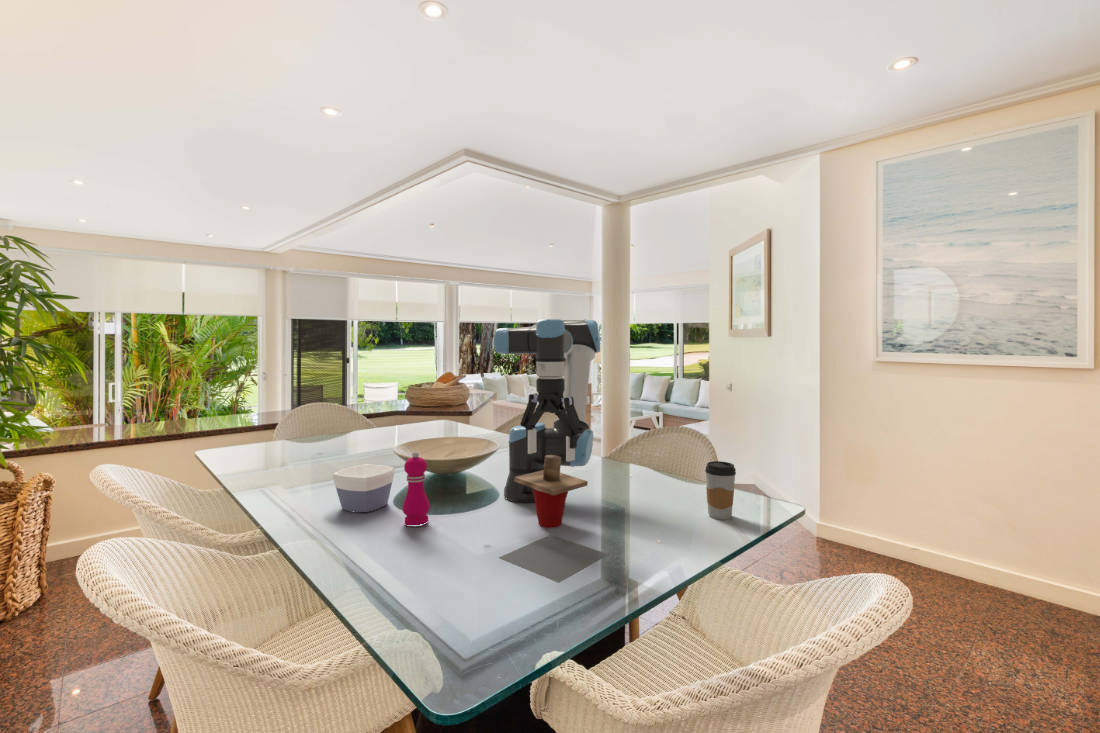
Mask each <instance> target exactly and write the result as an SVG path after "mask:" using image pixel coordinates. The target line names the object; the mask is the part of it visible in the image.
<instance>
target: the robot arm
mask: <svg viewBox="0 0 1100 733" xmlns="http://www.w3.org/2000/svg"><path fill="white" fill-rule="evenodd" d="M536 321H537V322H536V324H535V323H534V324H533V325H532V326H526V327H525V326H524V327H522V326H521V327H502V328H497V329H496V330H495V332H494V336H493V346H494V350H495V352H496V353H497V354H502V355H535V356H536V377H538V378H536V382H535V384H536V392H537V393H531V394H529V395H528V403H527V405H526V408H525V410H524V412H523V415H522V418H521V420H520V425H515V426H514V427H511V428H510V430H509V433H508V434H509V436H508V439H509V440H508V456H509V457H508V459H509V460H508V463H509V465H508V466H509V469H508V470H509V471H508V476H507V480H506V483H505V486H504V487H503V488H504V489H503V496H505V497H504V498H505V499H506V498H507V499H506V500H508V499H509V501H511V500H512V502H515V501H516V503H535V499H534V493H533V489H532V488H531V487H528V486H526V485H523V484H520V483H517V482H514V477H516V476H521V475H525V474H529V473H534V472H538V471H542V470H544V460H545V456H546V455H556V456H559V457H561V466H562V467H572V468H575V467H584V466H586V465H587V464H588V463H589V462H590V459H591V455H592V452H593V445H594V432H593V430H592V429H590V425H589V423H588V422H587V421H586V416H587V415H586V414H587V404H588V395H589V394H588V393H589V392H588V390H589V381H590V380H589V379H590V368H591V361H593V360H594V359H595V357H596V354H598V353H600V352H601V341H600V332H599V330H600V329H599V324H598V323H597V321H596V320H594V319H592V320H591V319H587V318H586V319H582V320H581V319H578V320H577V319H571V320H569V319H557V318H555V319H554V318H553V319H552V318H551V319H550V318H548V319H546V318H545V319H543V318H542V319H539V320H536ZM545 413H549V414H554V416H556V417H557V419H555V420H554V421H553V427H552V428H551V427H549V428H548V427H547V426H546V424H545V423H544V422H539V421H540V420H541V418H542V416H543V415H544V414H545ZM546 427H547V428H546ZM561 466H560V467H561Z"/></svg>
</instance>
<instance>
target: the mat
mask: <svg viewBox="0 0 1100 733" xmlns="http://www.w3.org/2000/svg"><path fill="white" fill-rule="evenodd" d="M607 556H609V553H607V552H605V551H602V550H601V551H600V550H598V549H594V548H591V547H588V546H585V545H582V544H579V543H576V542H573V541H570V540H569V539H568V540H567V539H565V538H562V537H559V536H555V535H553V534H547V535H546V536H544V537H541V538H540V539H538V540H535V541H533V542H530V543H529V544H526V545H524V546H521V547H519V548H517V549H515V550H512V551H511V552H508V553H506V554H503V555H500V556H499V557H498V559H500V560H502V561H505V562H507V563H510V564H512V565H514V566H517V567H520V568H522V569H525V570H526V571H529V572H531V573H534V574H537V575H540V576H541V577H545V578H546V579H549V580H552V581H553V582H554V581H555V583H561V582H563V581H564V580H566V579H567V578H570V577H571V576H574V575H575V574H577V573H578V572H580V571H582V570H584V569H585V568H587V567H590V566H591V565H592V564H594V563H596V562H598V561H600V560H601V559H603V558H605V557H607Z"/></svg>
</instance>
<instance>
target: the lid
mask: <svg viewBox="0 0 1100 733" xmlns="http://www.w3.org/2000/svg"><path fill="white" fill-rule="evenodd" d="M514 482H517V483H520V484H523V485H526V486H528V487H531V488H534V489H537V490H539V491H542V492H545V493H548V494H551V495H553V496H554V495H557V494H561V493H564V492H567V491H568V492H570V491H574V490H577V489H580V488H581V489H582V488H584V487H588V480H585V479H581V478H579V477H576V476H573V475H570V474H566V473H563V472H561V457H559V456H556V455H546V456H545V460H544V470H542V471H538V472H534V473H529V474H525V475H521V476H516V477H514Z"/></svg>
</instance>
